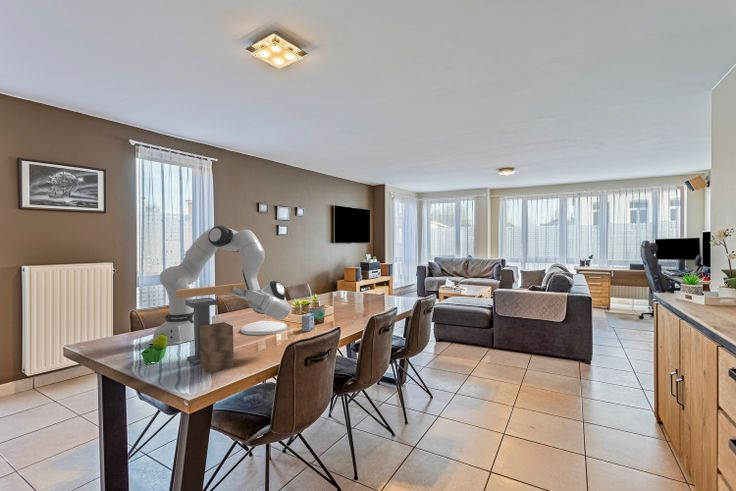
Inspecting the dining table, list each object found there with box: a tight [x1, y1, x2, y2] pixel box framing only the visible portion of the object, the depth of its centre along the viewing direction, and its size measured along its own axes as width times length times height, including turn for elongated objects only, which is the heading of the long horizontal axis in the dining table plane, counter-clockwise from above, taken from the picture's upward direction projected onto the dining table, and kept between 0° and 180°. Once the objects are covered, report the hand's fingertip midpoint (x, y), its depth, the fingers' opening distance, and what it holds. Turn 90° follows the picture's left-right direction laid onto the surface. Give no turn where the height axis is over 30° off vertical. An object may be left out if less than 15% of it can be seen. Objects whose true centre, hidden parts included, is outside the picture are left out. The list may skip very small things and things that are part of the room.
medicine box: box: [301, 312, 315, 333], centre depth 202 cm, size 8×4×9 cm, turn 168°
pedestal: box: [199, 321, 235, 374], centre depth 146 cm, size 10×10×16 cm
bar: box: [176, 282, 246, 299], centre depth 145 cm, size 26×3×3 cm, turn 131°
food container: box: [308, 304, 327, 325], centre depth 218 cm, size 12×6×10 cm, turn 148°
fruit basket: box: [140, 334, 168, 364], centre depth 155 cm, size 11×9×11 cm
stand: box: [185, 297, 218, 367], centre depth 153 cm, size 10×10×26 cm
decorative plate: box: [240, 320, 288, 336], centre depth 205 cm, size 25×4×25 cm
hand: (230, 287), depth 149 cm, fingers closed on bar, 3 cm apart
